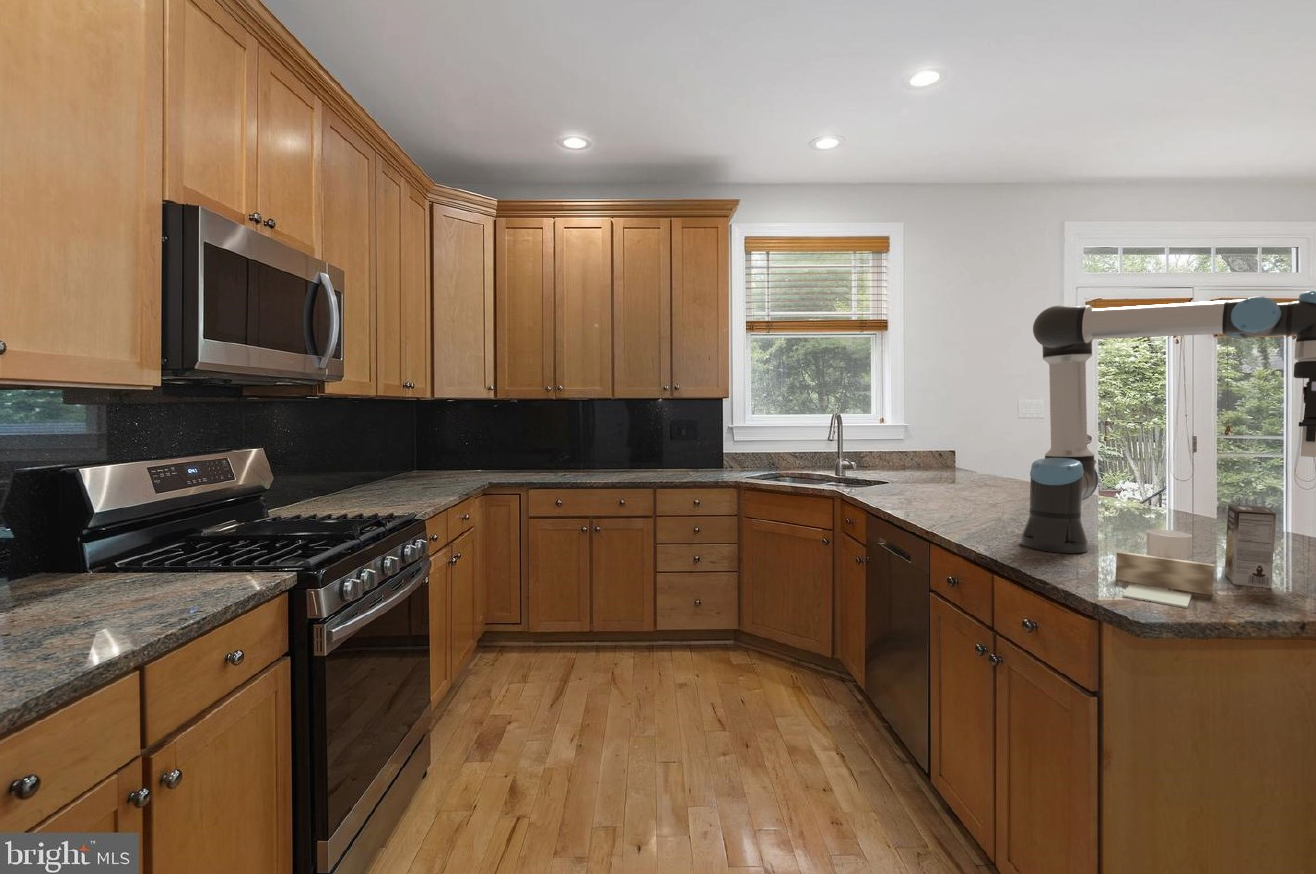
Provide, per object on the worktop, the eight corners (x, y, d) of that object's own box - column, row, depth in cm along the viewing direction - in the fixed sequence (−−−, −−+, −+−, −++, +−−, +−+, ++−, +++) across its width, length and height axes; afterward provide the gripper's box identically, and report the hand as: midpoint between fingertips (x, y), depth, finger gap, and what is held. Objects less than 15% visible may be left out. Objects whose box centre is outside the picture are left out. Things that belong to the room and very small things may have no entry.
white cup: (1172, 584, 135) (1174, 538, 134) (1135, 574, 142) (1137, 530, 142) (1199, 581, 137) (1201, 535, 136) (1161, 571, 145) (1163, 528, 144)
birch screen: (1115, 579, 138) (1116, 552, 138) (1116, 578, 139) (1117, 551, 139) (1212, 595, 127) (1213, 565, 127) (1212, 593, 128) (1214, 564, 128)
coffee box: (1222, 574, 142) (1226, 504, 141) (1261, 578, 139) (1265, 506, 138) (1232, 584, 134) (1236, 510, 133) (1273, 589, 131) (1278, 513, 130)
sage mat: (1122, 596, 126) (1122, 595, 126) (1129, 586, 133) (1129, 584, 133) (1187, 608, 119) (1187, 606, 119) (1191, 596, 127) (1191, 594, 127)
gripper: (1341, 357, 130) (1333, 459, 131) (1344, 361, 147) (1337, 452, 148) (1289, 358, 136) (1283, 457, 137) (1298, 363, 152) (1292, 450, 154)
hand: (1311, 455), depth 142 cm, fingers open, 13 cm apart
